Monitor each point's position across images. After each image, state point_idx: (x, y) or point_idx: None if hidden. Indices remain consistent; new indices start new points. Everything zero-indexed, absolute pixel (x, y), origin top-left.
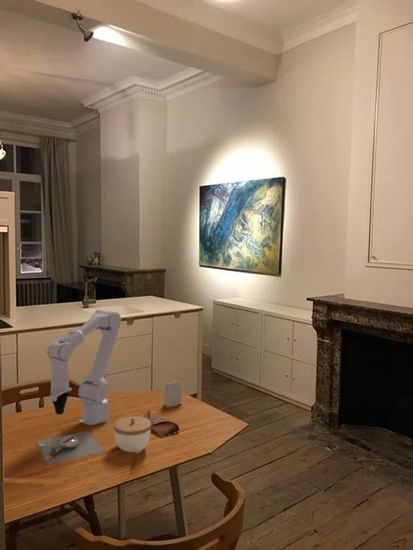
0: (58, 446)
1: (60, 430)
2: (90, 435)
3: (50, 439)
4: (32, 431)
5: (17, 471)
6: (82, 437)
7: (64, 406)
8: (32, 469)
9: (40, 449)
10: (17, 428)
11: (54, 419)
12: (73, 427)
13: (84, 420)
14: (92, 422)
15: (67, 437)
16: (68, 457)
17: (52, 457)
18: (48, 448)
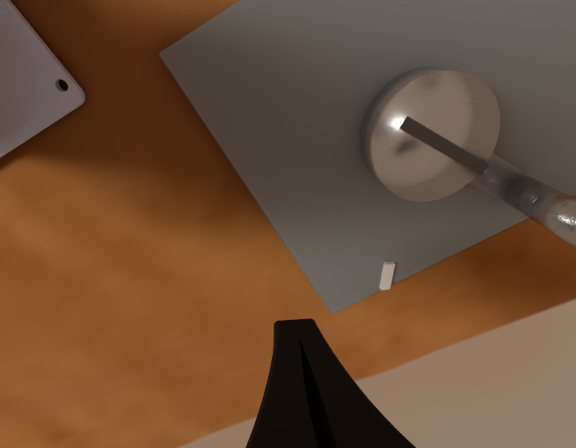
0: None
1: (152, 253)
2: (247, 5)
3: (314, 261)
4: (192, 365)
5: (565, 279)
6: (285, 69)
7: (292, 372)
8: None
9: (427, 266)
10: (171, 422)
11: (6, 332)
12: (85, 191)
13: (7, 129)
14: (5, 42)
15: (397, 164)
16: (564, 88)
17: None
18: (423, 235)
